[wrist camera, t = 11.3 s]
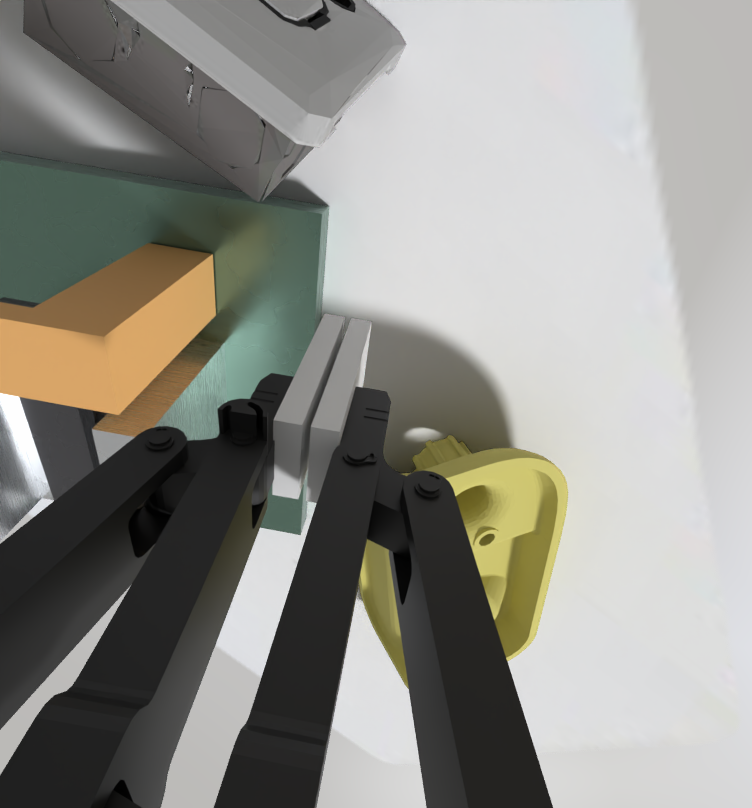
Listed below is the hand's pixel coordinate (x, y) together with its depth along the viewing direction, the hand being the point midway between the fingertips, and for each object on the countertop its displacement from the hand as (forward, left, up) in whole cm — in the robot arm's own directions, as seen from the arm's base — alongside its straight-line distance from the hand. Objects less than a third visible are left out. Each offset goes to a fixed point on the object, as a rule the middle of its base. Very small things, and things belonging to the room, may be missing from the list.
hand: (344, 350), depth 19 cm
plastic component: (+15, +7, -7) cm, 18 cm away
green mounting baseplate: (+7, -12, -7) cm, 15 cm away
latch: (+1, -10, -5) cm, 11 cm away
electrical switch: (-9, -5, -7) cm, 13 cm away
